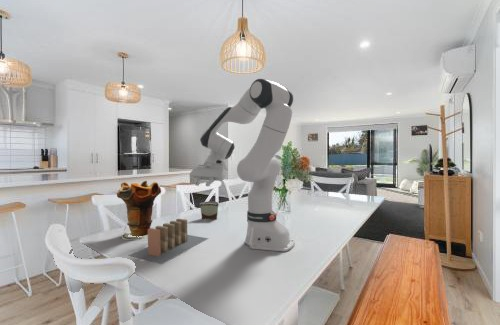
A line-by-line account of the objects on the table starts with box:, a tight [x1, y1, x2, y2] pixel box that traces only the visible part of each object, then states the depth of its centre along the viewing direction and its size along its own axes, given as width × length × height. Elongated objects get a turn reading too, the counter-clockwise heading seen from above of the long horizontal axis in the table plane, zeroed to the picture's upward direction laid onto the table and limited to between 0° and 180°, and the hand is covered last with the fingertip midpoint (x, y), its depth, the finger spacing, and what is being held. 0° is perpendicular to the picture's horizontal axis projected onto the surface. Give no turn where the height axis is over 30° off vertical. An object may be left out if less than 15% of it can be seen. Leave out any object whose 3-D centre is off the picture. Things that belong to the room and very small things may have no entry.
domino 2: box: [155, 225, 168, 253], centre depth 100 cm, size 2×5×10 cm, turn 64°
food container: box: [199, 201, 220, 220], centre depth 153 cm, size 12×6×10 cm, turn 84°
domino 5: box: [175, 218, 189, 243], centre depth 110 cm, size 2×5×10 cm, turn 64°
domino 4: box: [169, 220, 182, 246], centre depth 107 cm, size 2×5×10 cm, turn 64°
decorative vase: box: [116, 180, 162, 241], centre depth 124 cm, size 21×23×28 cm
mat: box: [128, 234, 210, 265], centre depth 105 cm, size 18×29×1 cm, turn 154°
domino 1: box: [147, 227, 161, 256], centre depth 96 cm, size 2×5×10 cm, turn 64°
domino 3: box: [162, 222, 175, 249], centre depth 103 cm, size 2×5×10 cm, turn 64°
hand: (201, 185), depth 124 cm, fingers open, 5 cm apart
